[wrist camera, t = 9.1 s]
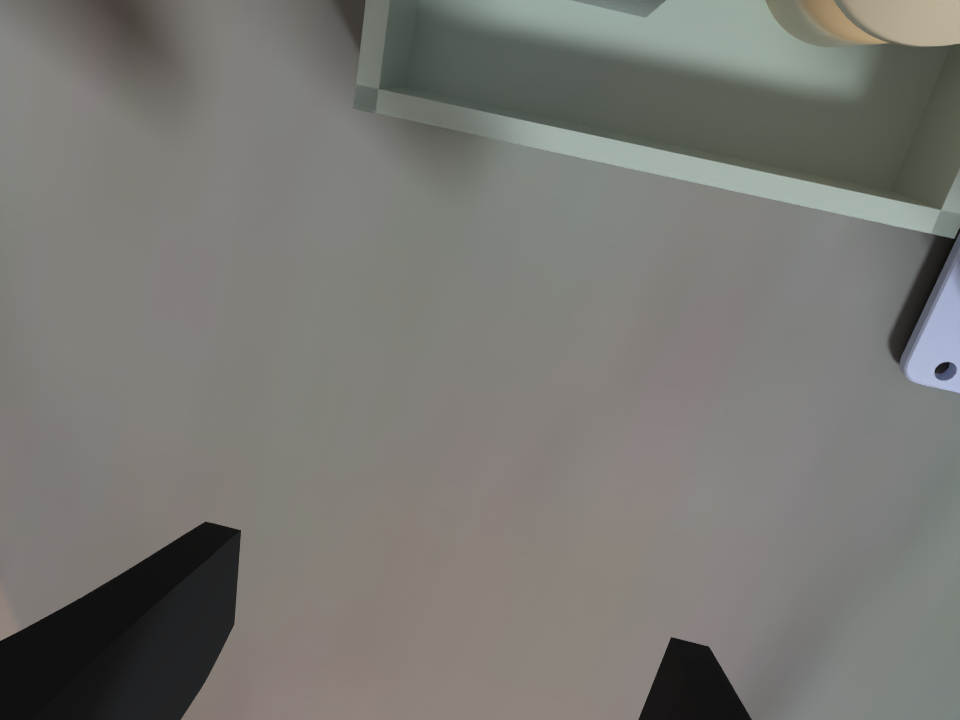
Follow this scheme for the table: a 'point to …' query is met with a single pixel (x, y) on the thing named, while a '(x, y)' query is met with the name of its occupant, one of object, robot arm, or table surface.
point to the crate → (682, 98)
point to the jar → (870, 21)
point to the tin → (627, 5)
